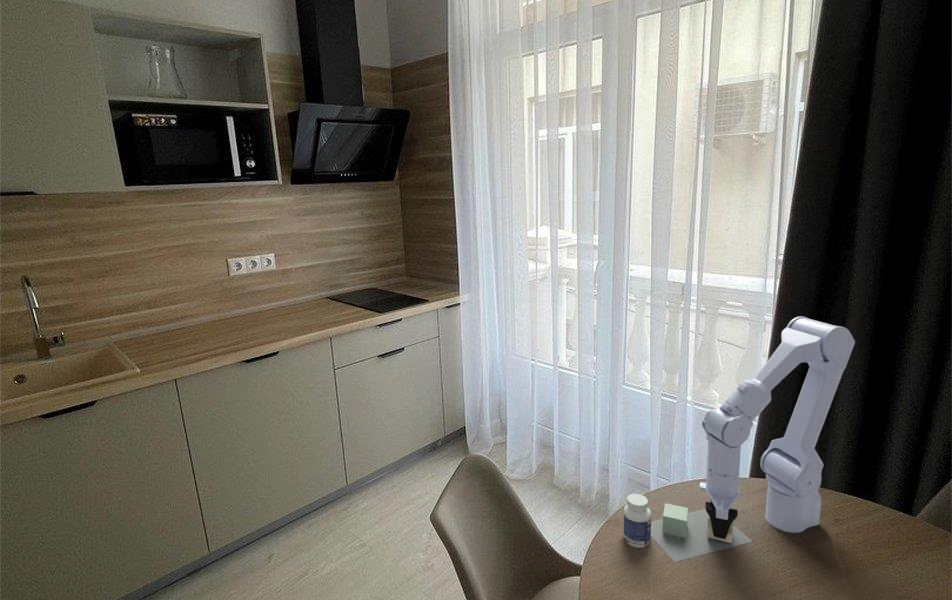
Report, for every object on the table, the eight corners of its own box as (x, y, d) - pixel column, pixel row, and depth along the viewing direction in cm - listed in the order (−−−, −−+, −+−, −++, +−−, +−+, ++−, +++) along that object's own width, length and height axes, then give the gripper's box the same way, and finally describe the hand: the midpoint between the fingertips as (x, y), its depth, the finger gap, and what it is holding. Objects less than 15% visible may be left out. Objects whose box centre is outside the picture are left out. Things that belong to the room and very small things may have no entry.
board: (711, 510, 108) (712, 507, 108) (752, 545, 97) (752, 541, 97) (640, 527, 104) (640, 524, 104) (674, 565, 93) (674, 562, 93)
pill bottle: (652, 552, 97) (653, 508, 95) (624, 549, 98) (624, 506, 96) (648, 533, 102) (649, 492, 100) (622, 531, 103) (622, 490, 101)
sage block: (664, 519, 105) (665, 503, 104) (687, 524, 103) (687, 508, 102) (662, 532, 101) (663, 515, 100) (686, 538, 99) (686, 521, 98)
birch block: (707, 524, 102) (708, 505, 101) (731, 529, 100) (732, 510, 99) (707, 537, 98) (708, 518, 97) (731, 543, 96) (733, 523, 95)
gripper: (701, 447, 104) (698, 503, 107) (699, 484, 91) (696, 547, 94) (738, 453, 101) (735, 511, 104) (742, 492, 88) (738, 557, 91)
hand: (719, 529), depth 99 cm, fingers closed on birch block, 4 cm apart
